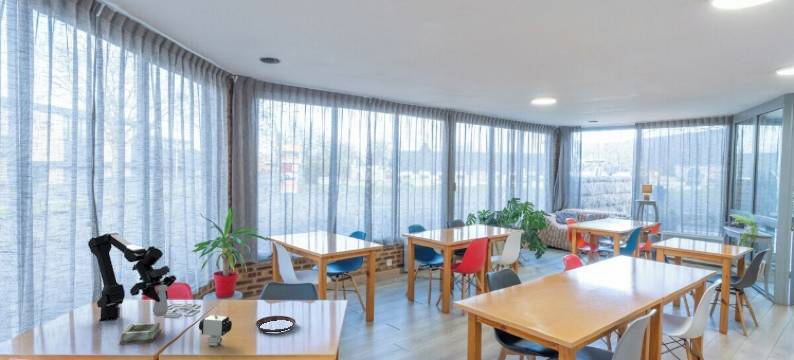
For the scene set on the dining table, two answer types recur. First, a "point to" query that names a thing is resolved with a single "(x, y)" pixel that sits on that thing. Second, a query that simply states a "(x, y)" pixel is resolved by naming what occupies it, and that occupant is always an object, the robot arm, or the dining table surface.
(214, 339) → the pneumatic valve
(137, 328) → the holder
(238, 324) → the dining table surface
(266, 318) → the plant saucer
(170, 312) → the floor plan model
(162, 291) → the grey round-headed cylinder
